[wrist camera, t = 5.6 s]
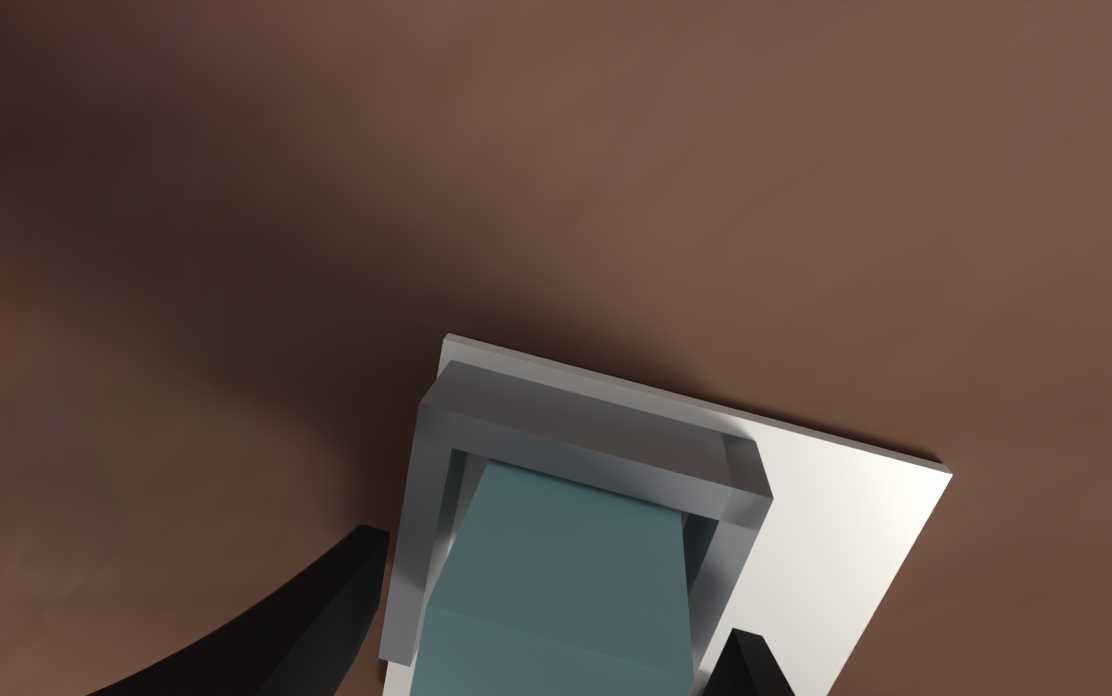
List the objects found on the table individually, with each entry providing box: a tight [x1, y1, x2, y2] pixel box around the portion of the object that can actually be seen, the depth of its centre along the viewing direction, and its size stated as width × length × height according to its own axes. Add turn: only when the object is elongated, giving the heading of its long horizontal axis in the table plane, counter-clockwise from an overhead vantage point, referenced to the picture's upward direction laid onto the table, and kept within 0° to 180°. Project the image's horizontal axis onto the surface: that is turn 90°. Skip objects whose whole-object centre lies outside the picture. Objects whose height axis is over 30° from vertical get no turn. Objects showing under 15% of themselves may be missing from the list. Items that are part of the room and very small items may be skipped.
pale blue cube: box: [409, 458, 694, 696], centre depth 13 cm, size 5×4×6 cm
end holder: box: [378, 360, 774, 677], centre depth 15 cm, size 7×7×3 cm
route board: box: [383, 333, 953, 696], centre depth 16 cm, size 12×12×2 cm
